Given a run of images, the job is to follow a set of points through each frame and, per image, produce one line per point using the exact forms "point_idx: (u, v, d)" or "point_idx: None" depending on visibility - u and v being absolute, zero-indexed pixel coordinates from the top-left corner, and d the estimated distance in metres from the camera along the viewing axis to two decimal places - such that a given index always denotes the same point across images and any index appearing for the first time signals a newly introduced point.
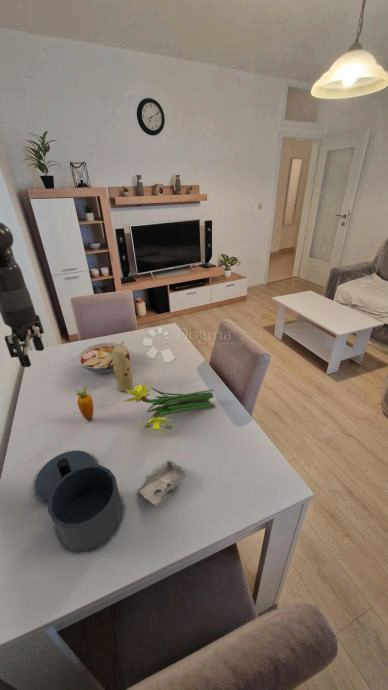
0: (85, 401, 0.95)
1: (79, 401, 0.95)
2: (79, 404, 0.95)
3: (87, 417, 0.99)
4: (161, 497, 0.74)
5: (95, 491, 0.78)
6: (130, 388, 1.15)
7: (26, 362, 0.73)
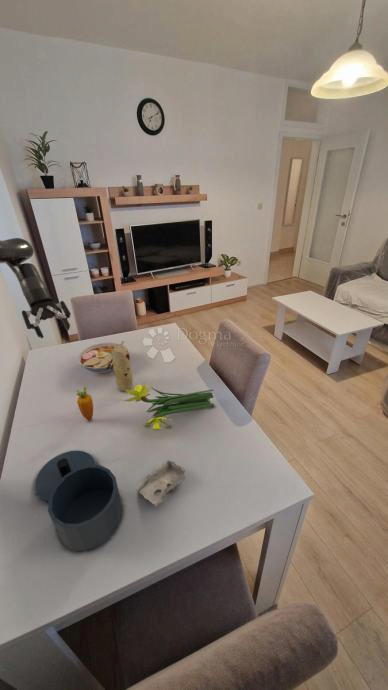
0: (85, 401, 0.95)
1: (79, 401, 0.95)
2: (79, 404, 0.95)
3: (87, 417, 0.99)
4: (161, 497, 0.74)
5: (95, 491, 0.78)
6: (130, 388, 1.15)
7: None
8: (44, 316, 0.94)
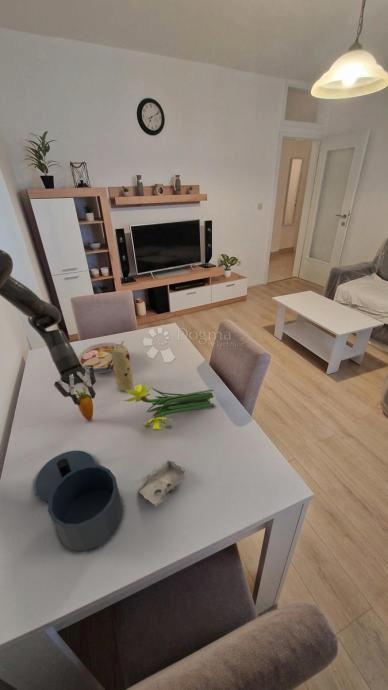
0: (85, 401, 0.95)
1: (79, 401, 0.95)
2: None
3: (87, 417, 0.99)
4: (161, 497, 0.74)
5: (95, 491, 0.78)
6: (130, 388, 1.15)
7: None
8: (74, 383, 0.95)
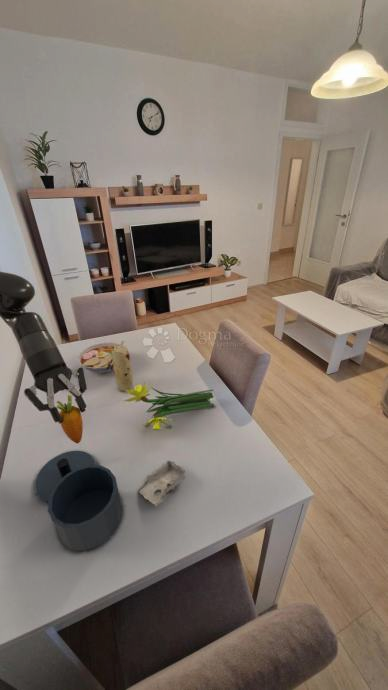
0: (70, 417, 0.65)
1: (62, 417, 0.65)
2: None
3: (74, 439, 0.69)
4: (161, 497, 0.74)
5: (95, 491, 0.78)
6: (130, 388, 1.15)
7: None
8: (55, 390, 0.65)
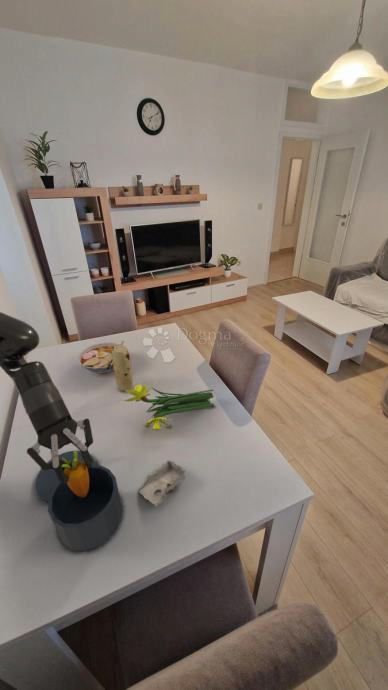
0: (76, 475, 0.61)
1: (67, 475, 0.61)
2: None
3: (80, 495, 0.65)
4: (161, 497, 0.74)
5: (95, 491, 0.78)
6: (130, 388, 1.15)
7: None
8: (59, 446, 0.60)
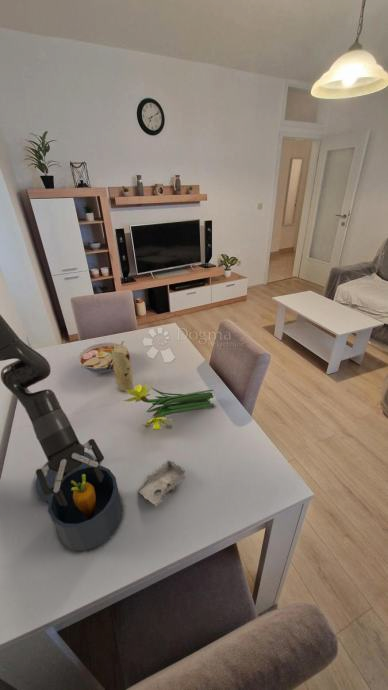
0: (84, 497, 0.65)
1: (76, 497, 0.65)
2: (76, 501, 0.65)
3: (87, 515, 0.69)
4: (161, 497, 0.74)
5: (95, 491, 0.78)
6: (130, 388, 1.15)
7: None
8: (68, 471, 0.64)
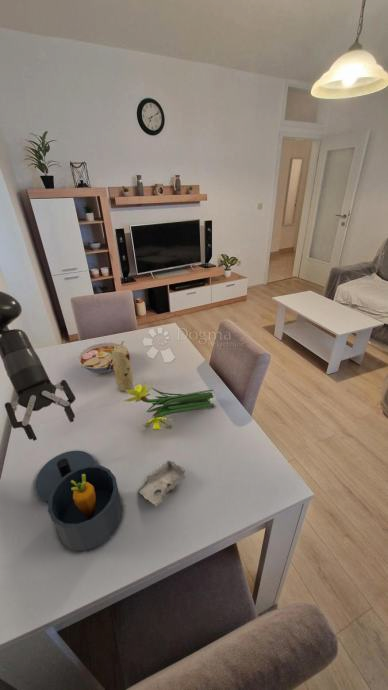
0: (84, 497, 0.65)
1: (76, 497, 0.65)
2: (76, 501, 0.66)
3: (87, 514, 0.69)
4: (161, 497, 0.74)
5: (95, 491, 0.78)
6: (130, 388, 1.15)
7: None
8: (38, 407, 0.65)
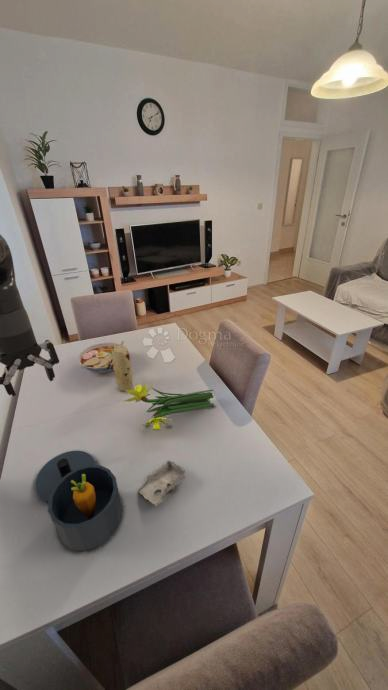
0: (84, 497, 0.65)
1: (76, 497, 0.65)
2: (76, 501, 0.66)
3: (87, 514, 0.69)
4: (161, 497, 0.74)
5: (95, 491, 0.78)
6: (130, 388, 1.15)
7: None
8: (21, 368, 0.64)
